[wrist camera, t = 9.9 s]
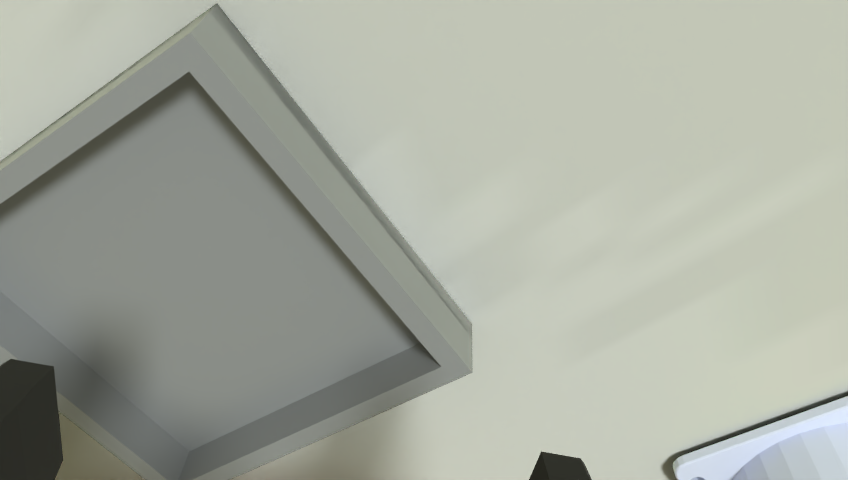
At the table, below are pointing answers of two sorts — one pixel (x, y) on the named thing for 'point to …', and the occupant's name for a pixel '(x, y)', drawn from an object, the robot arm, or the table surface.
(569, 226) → the table surface
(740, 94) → the table surface
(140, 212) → the tray
